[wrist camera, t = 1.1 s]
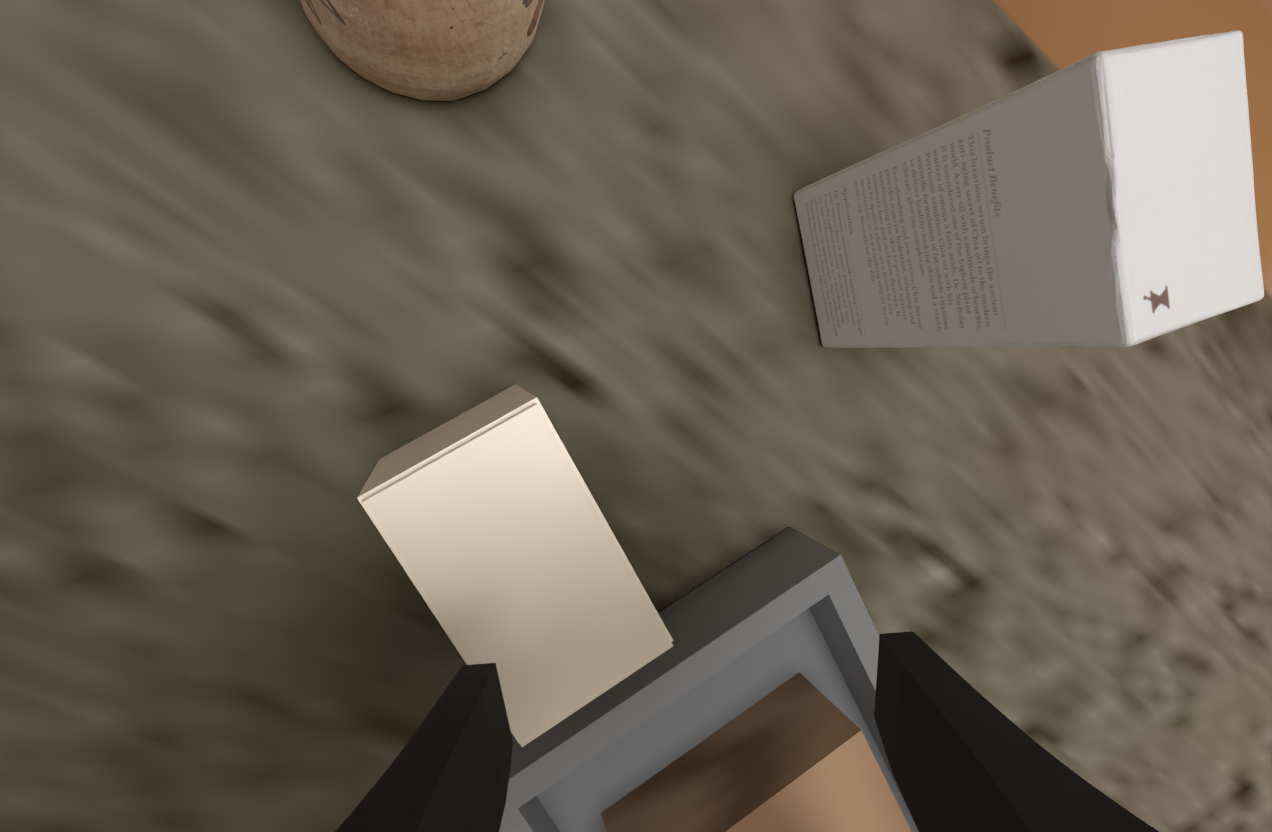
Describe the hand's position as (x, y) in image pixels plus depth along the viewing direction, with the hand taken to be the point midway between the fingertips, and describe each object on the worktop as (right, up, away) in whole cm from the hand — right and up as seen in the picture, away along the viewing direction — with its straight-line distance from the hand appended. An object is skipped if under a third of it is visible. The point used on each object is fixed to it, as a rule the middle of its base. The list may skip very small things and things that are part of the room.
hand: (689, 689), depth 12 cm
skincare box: (+7, +11, +13) cm, 19 cm away
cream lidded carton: (-5, +2, +10) cm, 12 cm away
